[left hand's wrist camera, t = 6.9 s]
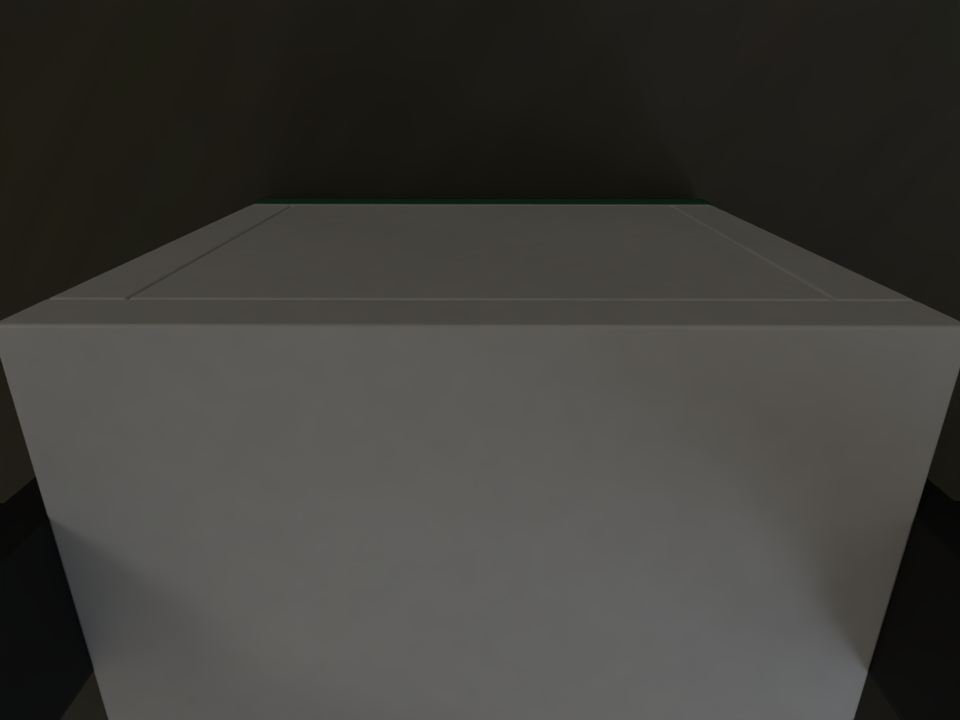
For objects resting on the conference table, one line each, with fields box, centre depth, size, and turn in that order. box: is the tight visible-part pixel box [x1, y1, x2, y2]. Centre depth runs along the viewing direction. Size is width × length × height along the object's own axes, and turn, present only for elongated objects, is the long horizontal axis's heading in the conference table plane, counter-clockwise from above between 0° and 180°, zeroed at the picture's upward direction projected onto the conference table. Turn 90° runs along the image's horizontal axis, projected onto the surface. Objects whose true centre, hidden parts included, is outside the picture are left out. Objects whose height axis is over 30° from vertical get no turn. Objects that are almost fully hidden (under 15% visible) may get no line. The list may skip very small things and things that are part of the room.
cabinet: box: [0, 198, 960, 720], centre depth 16 cm, size 19×11×10 cm, turn 0°
